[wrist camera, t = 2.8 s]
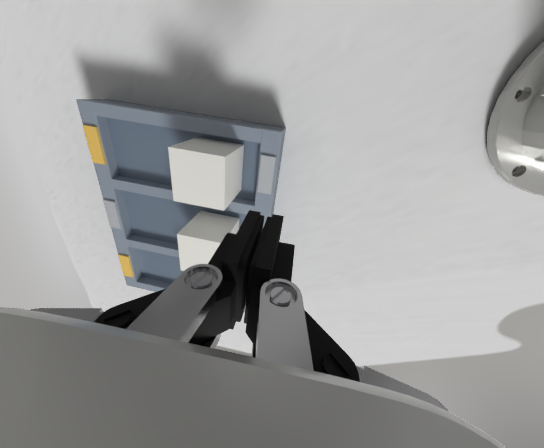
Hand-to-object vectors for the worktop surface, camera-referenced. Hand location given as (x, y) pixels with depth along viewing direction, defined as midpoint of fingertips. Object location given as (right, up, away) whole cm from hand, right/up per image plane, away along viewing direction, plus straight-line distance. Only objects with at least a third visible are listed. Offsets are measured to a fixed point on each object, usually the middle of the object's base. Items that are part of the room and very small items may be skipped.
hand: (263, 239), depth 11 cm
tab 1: (-4, +6, +9) cm, 11 cm away
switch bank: (-8, +2, +14) cm, 17 cm away
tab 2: (-5, 0, +12) cm, 13 cm away
